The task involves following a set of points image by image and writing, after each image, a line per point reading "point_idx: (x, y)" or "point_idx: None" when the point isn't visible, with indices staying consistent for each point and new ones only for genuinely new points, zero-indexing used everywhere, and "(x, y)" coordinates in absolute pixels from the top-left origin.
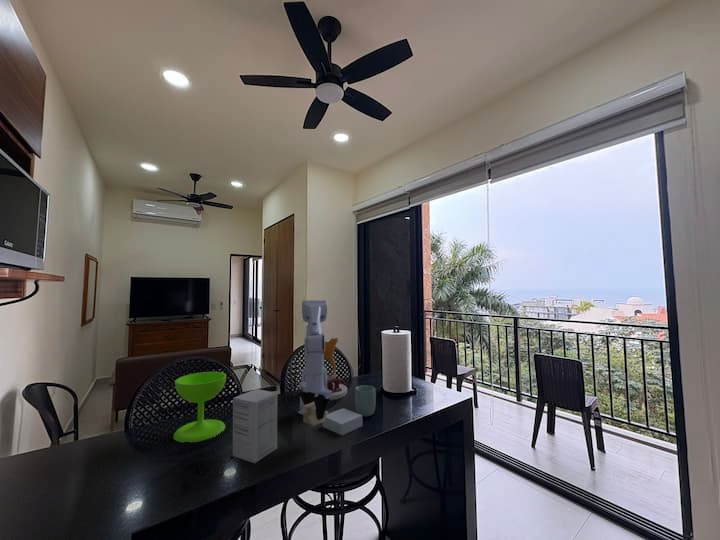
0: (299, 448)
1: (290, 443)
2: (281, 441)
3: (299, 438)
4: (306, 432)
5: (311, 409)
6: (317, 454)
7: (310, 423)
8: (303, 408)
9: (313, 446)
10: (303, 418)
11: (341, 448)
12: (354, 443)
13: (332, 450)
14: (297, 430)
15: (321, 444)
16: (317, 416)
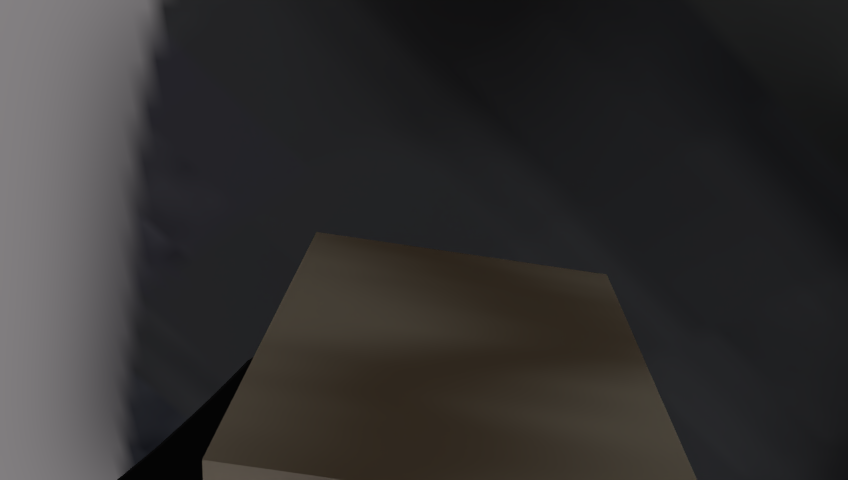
0: (491, 20)
1: (681, 44)
2: (833, 11)
3: (659, 195)
4: (676, 329)
5: (298, 455)
6: (215, 44)
7: (394, 256)
8: (686, 457)
9: (387, 150)
10: (618, 304)
11: (137, 272)
12: (128, 391)
13: (167, 198)
14: (805, 313)
15: (349, 227)
16: (231, 389)
